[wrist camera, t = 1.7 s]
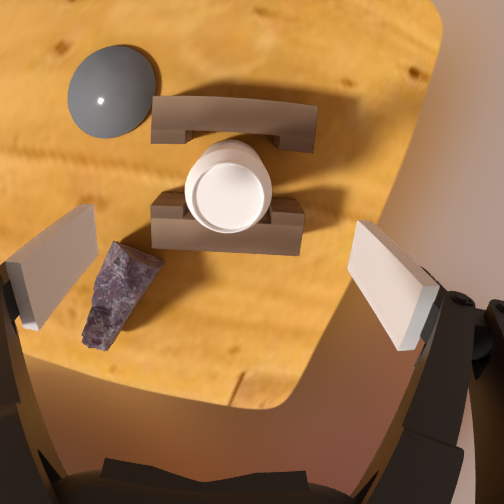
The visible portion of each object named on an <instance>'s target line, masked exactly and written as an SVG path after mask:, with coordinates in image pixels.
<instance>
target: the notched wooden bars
mask: <svg viewBox="0 0 504 504" xmlns="http://www.w3.org/2000/svg"><path fill="white" fill-rule="evenodd" d="M317 114H318V106H313V105H305V104H298V103H290V102H281V101H271V100H261V99H248V98H234V97H213V96H153V103H152V123H151V144H186V143H187V142H189V141H191V140H192V137H193V130H196V131H221V132H238V133H253V134H265V135H273V145H274V146H275V147H276V148H278V149H279V150H288V151H298V152H307V153H313V150H314V141H315V133H316V123H317ZM150 206H151V239H152V248H158V249H176V250H194V251H213V252H231V253H250V254H269V255H287V256H299V254H300V247H301V240H302V234H303V227H304V220H305V213H304V211H303V210H302V208H301V207H300V205H299V204H298V202H297V201H296V200H294V199H281V198H271V202H270V205H269V207H268V210H267V211H266V213H265V215H264V216H263V217H262V218H261V219H260V220H259V221H258V222H257V223H256V224H255V225H253V226H252V227H250V228H248V229H246V230H243V231H240V232H235V233H220V232H216V231H213V230H211V229H209V228H207V227H205V226H203V225H202V224H201V223H199V222H198V221H197V220H196V219H195V217H194V216H193V215H192V213H191V212H190V210H189V208H188V206H187V203H186V198H185V193H175V192H162V193H161V194H160V195H159V196H158V197H157V199H156V200H155V201H154V202H153V203H152V204H151V205H150Z"/></svg>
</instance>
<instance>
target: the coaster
mask: <svg viewBox="0 0 504 504" xmlns="http://www.w3.org/2000/svg"><path fill="white" fill-rule="evenodd" d="M155 94H156V77H155V73H154V70H153V68H152V66H151V64H150V63H149V61H148V60H147V59H146V58H145V57H144V56H143V55H142V54H141V53H139V52H138V51H136V50H134V49H131V48H129V47H125V46H111V47H106V48H103V49H100V50H98V51H96V52H94V53H93V54H91V55H90V56H88V57H87V58H86V59H85V60H84V61H83V62H82V63H81V64H80V65H79V67H78V68H77V70H76V71H75V73H74V75H73V77H72V79H71V82H70V85H69V90H68V107H69V111H70V114H71V116H72V118H73V120H74V122H75V123H76V125H77V126H78V127H79V128H80V129H81V130H82V131H84V132H85V133H87V134H89V135H91V136H94V137H97V138H114V137H118V136H121V135H124V134H126V133H128V132H130V131H132V130H133V129H134V128H136V127H137V126H138V125H139V124H140V123H141V122H142V121H143V120H144V119H145V117H146V116H147V114H148V113H149V111H150V109H151V107H152V103H153V96H155Z"/></svg>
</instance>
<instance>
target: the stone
mask: <svg viewBox="0 0 504 504" xmlns="http://www.w3.org/2000/svg"><path fill="white" fill-rule="evenodd" d="M163 263H164V261H163V260H162V259H159V258H156V257H154V256H151V255H149V254H146V253H144V252H142V251H141V250H138V249H135V248H132V247H130V246H128V245H123V244H121V243H119V242H118V241H117V242H115V241H113V243H112V245H111V248H110V250H109V252H108V254H107V256H106V258H105V260H104V263H103V265H102V267H101V270H100V272H99V274H98V276H97V278H96V281H95V284H94V294H93V297H92V308H91V310H90V313H89V315H88V318H87V322H86V325H85V327H84V330H83V333H82V336H83V339H82V343H83V344H85V345H86V346H87V347H88V348H97V349H100V350H103V351H105V350H106V351H107V350H108V349H109V348H110V346H111V345H112V344H113V343H114V341H115V340H116V338H117V336H118V334H119V333H120V331H121V330H122V328H123V326H124V324H125V323H126V321H127V319H128V317H129V316H130V314H131V312H132V311H133V309H134V308H135V306H136V304H137V303H138V301H139V300H140V299H141V297H142V296H143V295H144V293H145V292H146V290H147V288H148V287H149V285H150V284H151V282H152V281H153V279H154V278H155V276H156V275H157V273H158V272H159V270H160V269H161V267H162V265H163Z"/></svg>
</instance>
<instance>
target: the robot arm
mask: <svg viewBox="0 0 504 504" xmlns="http://www.w3.org/2000/svg"><path fill="white" fill-rule="evenodd" d="M97 256H98V247H97V238H96V227H95V215H94V204H80V205H79V206H77V207H76V208H74V209H73V210H72V211H70V212H69V213H67V214H66V215H64V216H63V217H62V218H60V219H59V220H57V221H56V222H55V223H53V224H52V225H51V226H49V227H48V228H46V229H45V230H44V231H42V232H41V233H40V234H38V235H37V236H36V237H35V238H33V239H32V240H31V241H29V242H28V243H27V244H25V245H24V246H23V247H22V248H20V249H19V250H18V251H17V252H15V253H14V254H13V255H12V256H11V257H9V258H8V259H7V260H6V261H5V262H4V263H2V264H1V265H0V504H450V503H451V501H452V497H453V494H454V491H455V488H456V485H457V481H458V477H459V474H460V470H461V467H462V463H463V458H464V451H463V449H462V448H459V447H457V446H456V444H457V440H458V436H459V432H460V427H461V423H462V418H463V413H464V408H465V402H466V397H467V390H468V387H469V394H470V402H471V410H472V419H473V430H474V443H475V444H474V445H475V470H476V493H475V504H504V301H501V300H496V299H493V300H491V301H490V302H489V305H488V307H487V309H486V310H482V309H477V308H475V303H474V301H473V300H472V299H471V298H469V297H468V296H467V295H465V294H463V293H460V292H456V291H447V290H445V288H444V287H443V286H442V285H441V284H440V283H439V282H438V281H436V280H435V278H434V277H433V276H431V274H430V273H429V272H428V271H427V270H425V269H424V268H422V267H421V266H419V265H418V264H417V263H416V262H415V261H414V260H413V259H412V258H411V257H410V256H409V255H408V254H406V253H405V252H404V251H403V250H402V249H401V248H400V247H399V246H398V245H397V244H396V243H395V242H394V241H393V240H392V239H390V238H389V237H388V236H387V235H386V234H385V233H384V232H383V231H382V230H380V229H379V228H378V227H377V226H376V225H375V224H374V223H373V222H371V221H364V220H357V225H356V230H355V235H354V240H353V245H352V250H351V254H350V259H349V263H348V268H347V270H348V271H349V273H350V274H351V276H352V277H353V279H354V280H355V282H356V284H357V285H358V287H359V288H360V290H361V291H362V293H363V294H364V296H365V298H366V299H367V301H368V302H369V304H370V306H371V307H372V309H373V310H374V312H375V313H376V315H377V317H378V318H379V320H380V322H381V323H382V325H383V327H384V328H385V330H386V332H387V333H388V335H389V337H390V338H391V340H392V342H393V343H394V345H395V347H396V348H397V350H398V351H404V350H414V349H415V347H416V345H417V343H418V340H419V338H420V336H421V338H422V339H423V341H424V342H425V344H424V346H423V348H422V350H421V352H420V355H419V357H418V359H417V361H416V363H415V365H414V366H415V369H414V372H413V374H412V377H411V379H410V382H409V384H408V387H407V389H406V391H405V394H404V396H403V398H402V401H401V403H400V405H399V407H398V410H397V412H396V414H395V416H394V418H393V420H392V422H391V425H390V427H389V429H388V431H387V433H386V435H385V437H384V439H383V441H382V443H381V445H380V447H379V448H378V450H377V452H376V454H375V456H374V458H373V459H372V461H371V463H370V465H369V467H368V468H367V470H366V472H365V474H364V475H363V477H362V479H361V480H360V482H359V484H358V485H357V487H356V488H355V490H354V491H353V492H352V494H351V495H350V496H348V495H347V494H345V493H342V492H340V491H338V490H335V489H332V488H329V487H326V486H322V485H318V484H314V483H308V482H307V476H306V471H293V472H271V473H253V474H249V475H244V476H239V477H234V478H229V479H223V480H217V481H211V482H199V481H195V480H191V479H188V478H185V477H182V476H178V475H176V474H173V473H170V472H167V471H164V470H161V469H159V468H156V467H153V466H148V465H141V464H136V463H130V462H124V461H119V460H114V459H109V458H105V460H104V464H103V468H102V470H91V471H84V472H80V473H76V474H73V475H70V476H68V474H67V473H66V471H65V469H64V467H63V465H62V463H61V461H60V459H59V457H58V454H57V452H56V450H55V448H54V445H53V443H52V440H51V438H50V436H49V433H48V431H47V428H46V425H45V423H44V420H43V417H42V415H41V412H40V409H39V406H38V403H37V401H36V398H35V394H34V391H33V388H32V385H31V382H30V378H29V375H28V371H27V368H26V364H25V360H24V356H23V352H22V348H21V344H20V339H19V335H18V330H17V327H16V324H15V321H14V320H15V319H16V318H17V317H18V316H19V315H20V318H21V321H22V324H23V327H24V328H27V329H32V330H36V331H39V330H40V329H41V327H42V326H43V325H44V323H45V322H46V321H47V319H48V318H49V317H50V315H51V314H52V313H53V311H54V310H55V309H56V307H57V306H58V305H59V303H60V302H61V301H62V299H63V298H64V297H65V295H66V294H67V293H68V292H69V290H70V289H71V288H72V287H73V285H74V284H75V283H76V282H77V280H78V279H79V278H80V277H81V275H82V274H83V273H84V272H85V271H86V269H87V268H88V267H89V266H90V264H91V263H92V262H93V261H94V260H95V259H96V257H97Z"/></svg>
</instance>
